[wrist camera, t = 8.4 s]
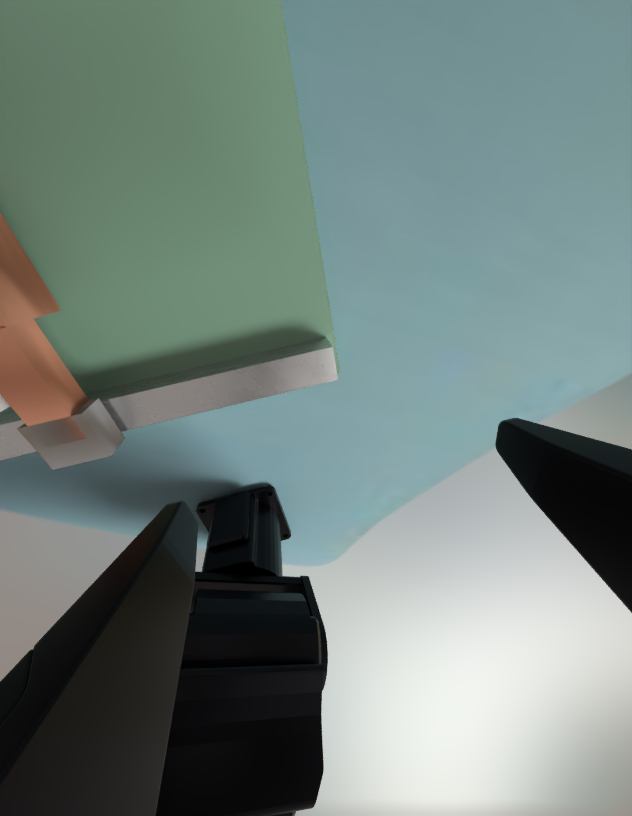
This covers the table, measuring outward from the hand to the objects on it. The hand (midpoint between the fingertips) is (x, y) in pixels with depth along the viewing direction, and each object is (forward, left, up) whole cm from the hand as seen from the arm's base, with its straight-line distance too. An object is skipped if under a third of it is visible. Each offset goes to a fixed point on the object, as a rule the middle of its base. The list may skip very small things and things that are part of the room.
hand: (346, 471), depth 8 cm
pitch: (+7, +9, -12) cm, 17 cm away
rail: (-1, +9, -12) cm, 15 cm away
